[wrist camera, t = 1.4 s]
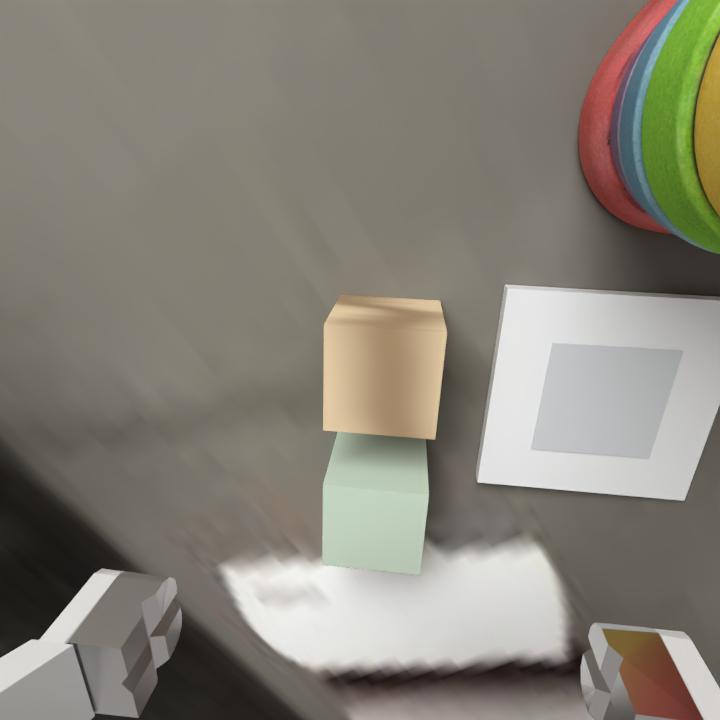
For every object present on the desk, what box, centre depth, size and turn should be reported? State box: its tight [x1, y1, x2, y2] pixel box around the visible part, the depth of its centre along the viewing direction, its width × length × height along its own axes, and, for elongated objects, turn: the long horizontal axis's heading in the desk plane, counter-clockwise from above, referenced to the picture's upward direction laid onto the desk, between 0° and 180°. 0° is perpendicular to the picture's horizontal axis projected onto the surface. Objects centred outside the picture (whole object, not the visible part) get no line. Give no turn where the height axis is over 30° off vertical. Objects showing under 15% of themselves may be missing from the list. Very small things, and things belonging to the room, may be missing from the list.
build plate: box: [475, 285, 720, 501], centre depth 24 cm, size 11×11×1 cm
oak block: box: [323, 295, 447, 440], centre depth 22 cm, size 5×5×5 cm
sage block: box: [323, 432, 429, 575], centre depth 25 cm, size 5×5×5 cm
